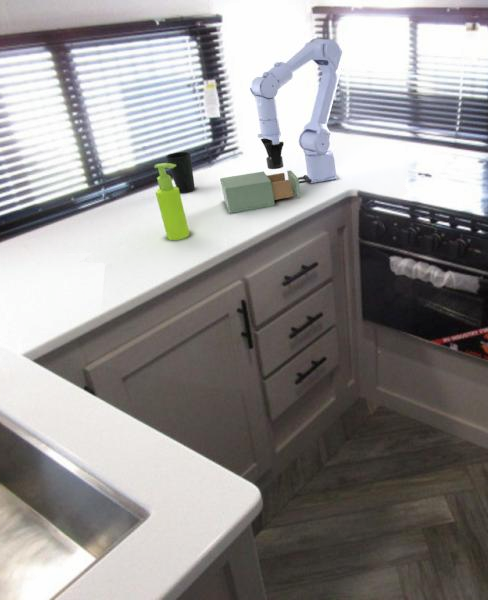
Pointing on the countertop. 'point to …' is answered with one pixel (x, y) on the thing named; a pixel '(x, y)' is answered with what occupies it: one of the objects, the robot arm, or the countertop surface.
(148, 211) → the countertop surface
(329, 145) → the robot arm
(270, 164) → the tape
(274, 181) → the drawer
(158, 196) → the soap dispenser
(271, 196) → the cabinet
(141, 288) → the countertop surface
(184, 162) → the cup
